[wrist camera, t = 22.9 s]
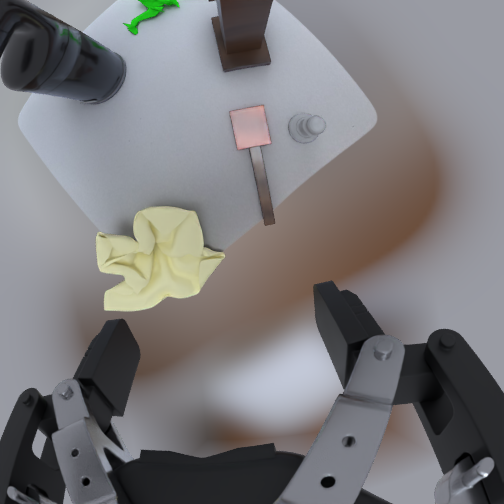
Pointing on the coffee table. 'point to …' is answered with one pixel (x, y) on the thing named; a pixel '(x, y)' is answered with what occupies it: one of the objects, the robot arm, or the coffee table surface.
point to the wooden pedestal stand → (242, 33)
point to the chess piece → (306, 127)
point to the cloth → (156, 259)
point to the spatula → (255, 150)
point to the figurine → (149, 12)
